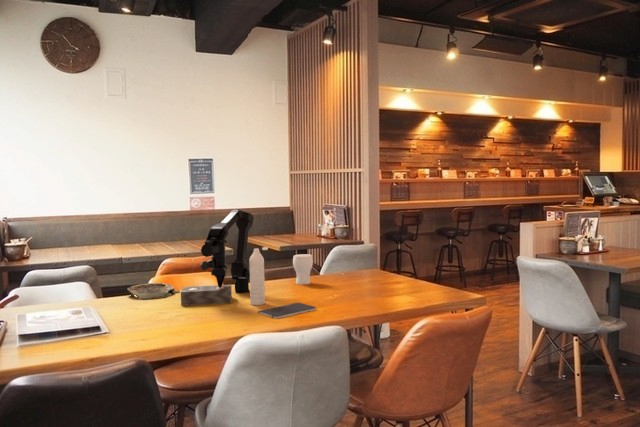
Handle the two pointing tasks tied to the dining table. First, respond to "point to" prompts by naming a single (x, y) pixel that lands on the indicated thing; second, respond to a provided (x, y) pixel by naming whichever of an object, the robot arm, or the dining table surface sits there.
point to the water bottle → (257, 278)
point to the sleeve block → (206, 295)
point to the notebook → (287, 310)
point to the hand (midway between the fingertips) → (220, 287)
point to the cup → (302, 268)
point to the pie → (151, 290)
